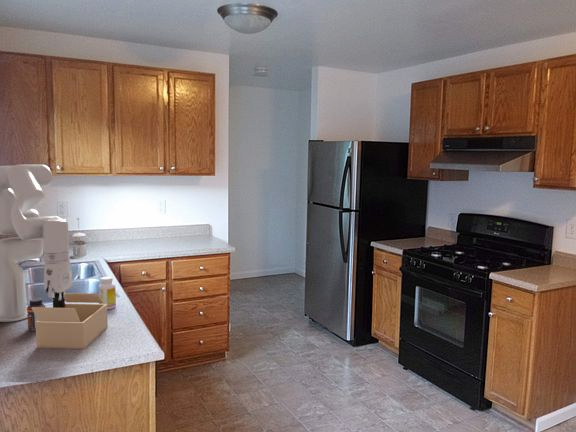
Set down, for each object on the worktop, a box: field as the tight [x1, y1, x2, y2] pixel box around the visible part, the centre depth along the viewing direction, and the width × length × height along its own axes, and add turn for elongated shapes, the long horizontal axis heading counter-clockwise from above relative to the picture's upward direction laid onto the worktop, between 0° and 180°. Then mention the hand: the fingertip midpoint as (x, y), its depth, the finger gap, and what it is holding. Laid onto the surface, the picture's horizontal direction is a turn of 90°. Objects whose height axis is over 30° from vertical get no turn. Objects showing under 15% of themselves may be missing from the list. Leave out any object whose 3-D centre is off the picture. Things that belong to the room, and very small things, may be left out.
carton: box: [35, 302, 109, 350], centre depth 166 cm, size 16×20×9 cm
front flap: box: [32, 306, 80, 322], centre depth 154 cm, size 14×6×1 cm
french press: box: [71, 217, 89, 259], centre depth 295 cm, size 10×12×25 cm
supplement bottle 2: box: [98, 276, 117, 310], centre depth 199 cm, size 7×7×13 cm
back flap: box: [63, 292, 103, 304], centre depth 173 cm, size 14×6×1 cm
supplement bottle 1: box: [27, 297, 46, 332], centre depth 173 cm, size 6×6×11 cm
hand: (59, 310), depth 156 cm, fingers closed
